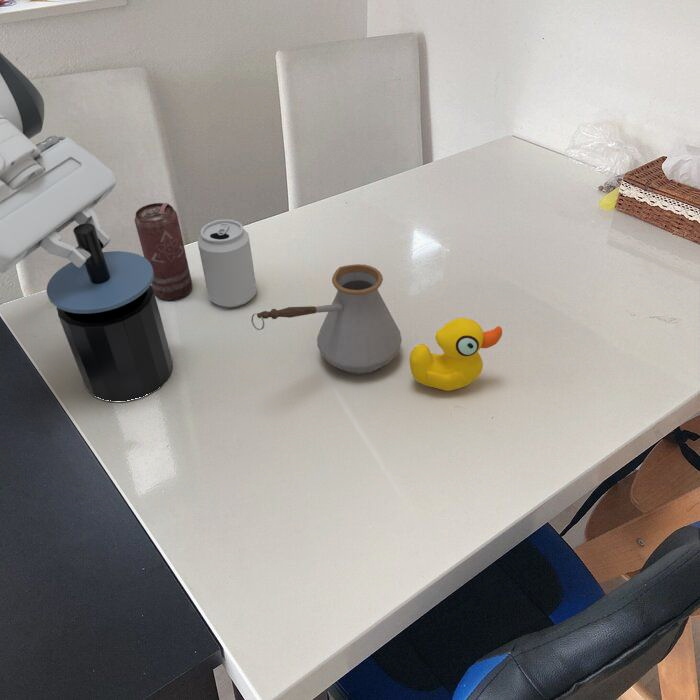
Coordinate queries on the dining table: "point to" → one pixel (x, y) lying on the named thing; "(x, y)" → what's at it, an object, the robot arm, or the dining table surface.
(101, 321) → the cup
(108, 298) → the lid
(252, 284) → the can
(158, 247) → the can
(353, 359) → the coffee pot
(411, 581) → the dining table surface
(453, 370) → the duckling
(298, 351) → the dining table surface
